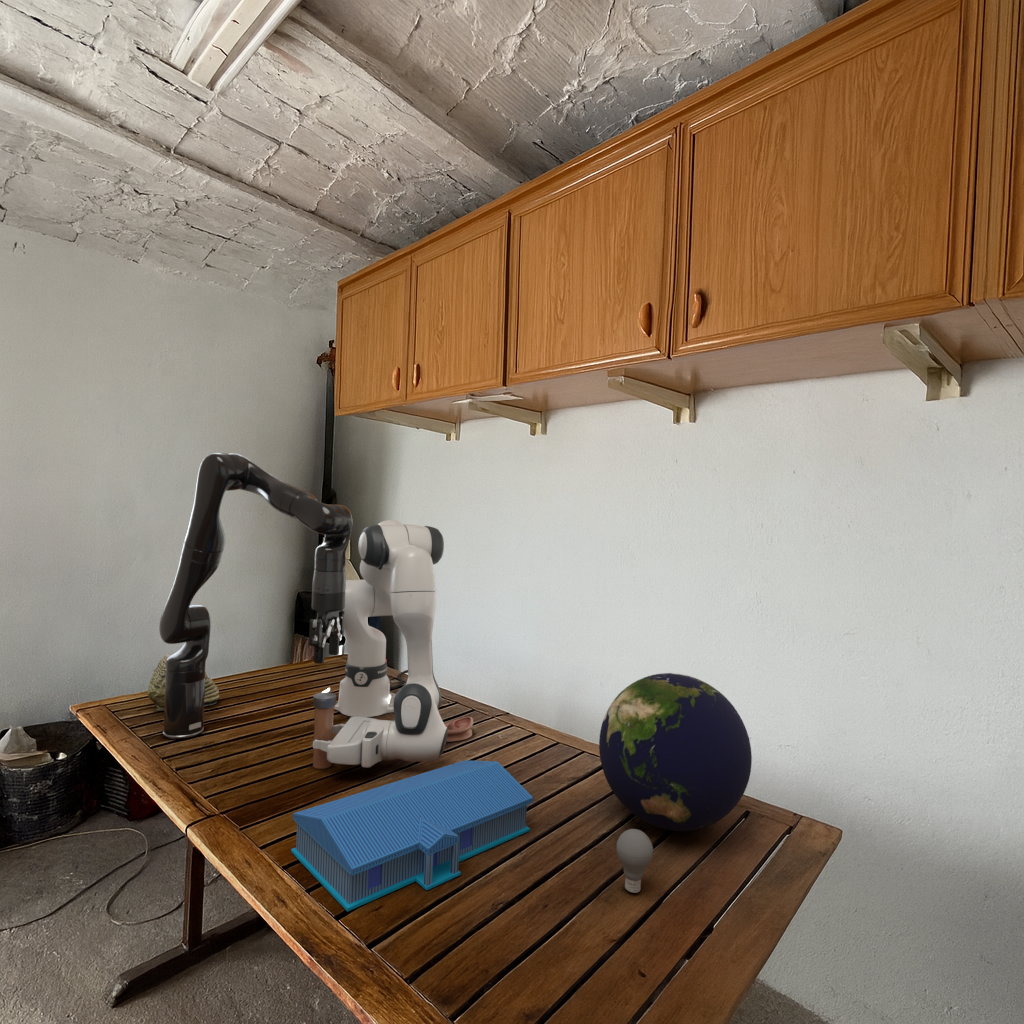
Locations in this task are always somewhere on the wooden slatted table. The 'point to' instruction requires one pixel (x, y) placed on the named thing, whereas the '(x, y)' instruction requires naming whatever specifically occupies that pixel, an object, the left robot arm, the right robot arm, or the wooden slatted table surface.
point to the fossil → (158, 687)
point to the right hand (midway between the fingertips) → (319, 736)
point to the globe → (675, 752)
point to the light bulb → (634, 857)
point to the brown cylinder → (322, 735)
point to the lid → (324, 700)
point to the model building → (409, 830)
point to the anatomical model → (459, 729)
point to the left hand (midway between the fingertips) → (326, 658)
